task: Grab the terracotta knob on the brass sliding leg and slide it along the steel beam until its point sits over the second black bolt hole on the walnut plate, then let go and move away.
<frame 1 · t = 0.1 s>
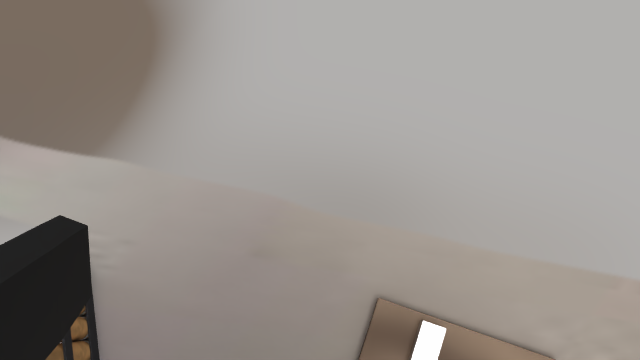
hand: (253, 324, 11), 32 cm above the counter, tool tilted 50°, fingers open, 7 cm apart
ammunition clip: (86, 340, 43), on the counter
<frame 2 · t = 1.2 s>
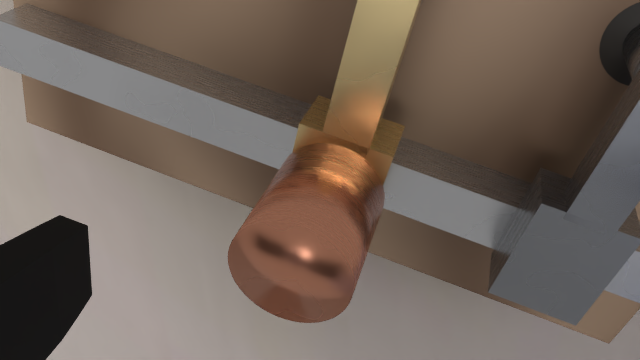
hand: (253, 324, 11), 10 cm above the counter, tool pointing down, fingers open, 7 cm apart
steel beam: (319, 145, 17), on the hole plate, point 2 cm above the counter
hole plate: (358, 43, 18), on the counter
sliding leg: (348, 129, 13), point 5 cm above the counter, slide at 0.0 cm
fixed leg: (593, 174, 14), on the hole plate, point 3 cm above the counter
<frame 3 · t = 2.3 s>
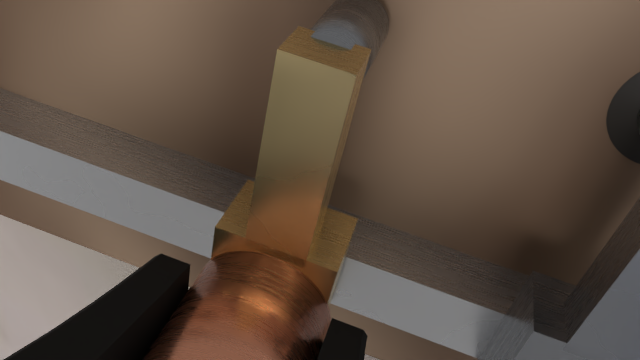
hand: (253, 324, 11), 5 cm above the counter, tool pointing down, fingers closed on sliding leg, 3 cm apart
steel beam: (260, 228, 14), on the hole plate, point 2 cm above the counter
hole plate: (307, 100, 14), on the counter
sliding leg: (277, 238, 10), point 5 cm above the counter, slide at 0.0 cm, touching gripper
fixed leg: (601, 282, 11), on the hole plate, point 3 cm above the counter
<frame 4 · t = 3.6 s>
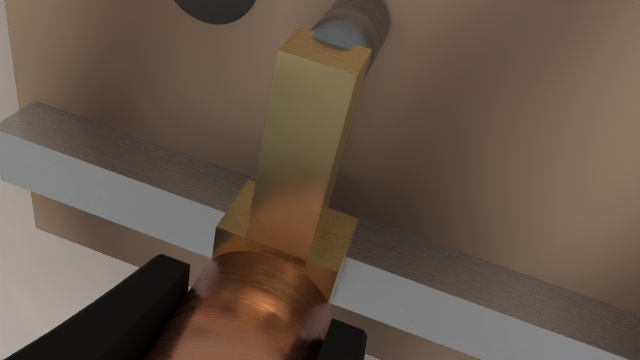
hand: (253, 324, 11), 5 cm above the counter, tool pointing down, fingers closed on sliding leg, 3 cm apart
steel beam: (408, 282, 14), on the hole plate, point 2 cm above the counter
hole plate: (454, 149, 14), on the counter
sliding leg: (277, 238, 10), point 5 cm above the counter, slide at 3.8 cm, touching gripper
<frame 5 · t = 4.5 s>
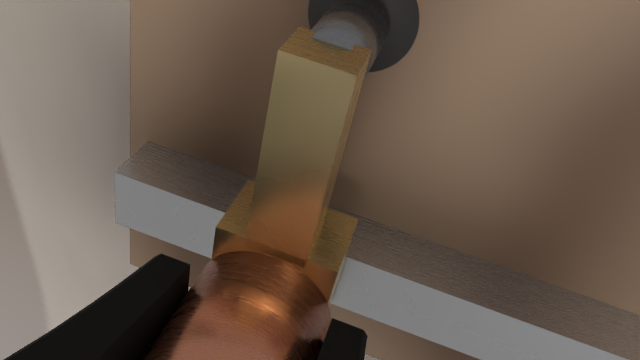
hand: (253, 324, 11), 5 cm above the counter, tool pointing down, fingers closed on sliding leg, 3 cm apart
steel beam: (543, 331, 13), on the hole plate, point 2 cm above the counter
hole plate: (587, 194, 13), on the counter
sliding leg: (277, 238, 10), point 5 cm above the counter, slide at 7.0 cm, touching gripper
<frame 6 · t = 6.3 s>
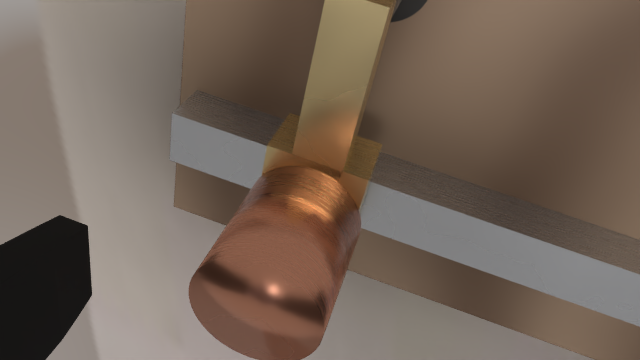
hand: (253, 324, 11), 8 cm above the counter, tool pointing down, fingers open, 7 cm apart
steel beam: (538, 247, 16), on the hole plate, point 2 cm above the counter
hole plate: (575, 131, 16), on the counter
sliding leg: (319, 151, 12), point 5 cm above the counter, slide at 7.0 cm
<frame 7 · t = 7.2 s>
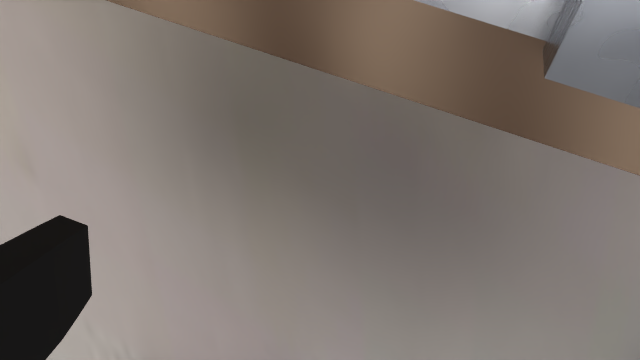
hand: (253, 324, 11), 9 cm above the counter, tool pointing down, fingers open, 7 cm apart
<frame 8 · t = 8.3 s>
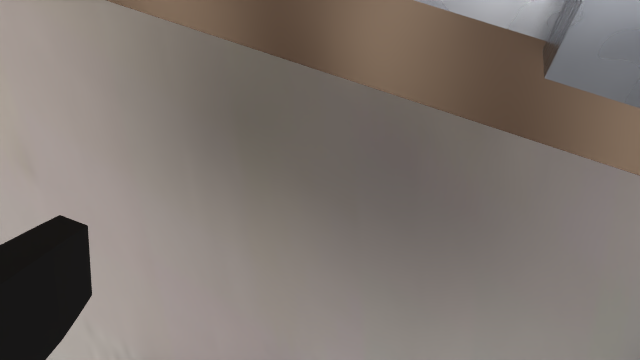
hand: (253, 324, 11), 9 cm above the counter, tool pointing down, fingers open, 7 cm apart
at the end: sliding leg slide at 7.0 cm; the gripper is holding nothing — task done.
